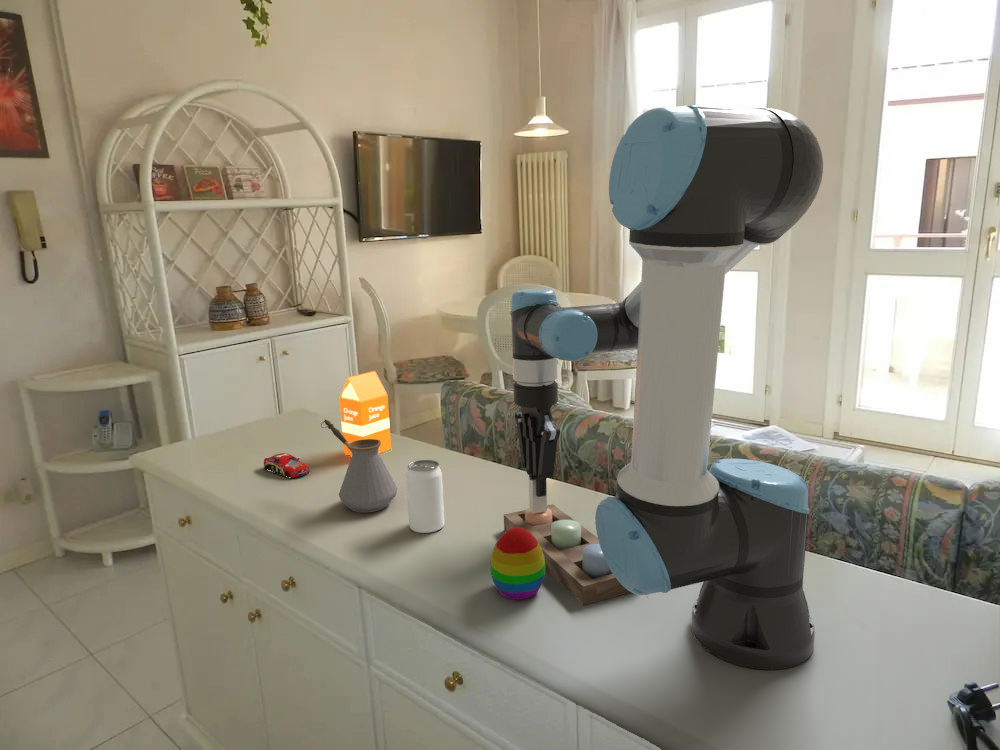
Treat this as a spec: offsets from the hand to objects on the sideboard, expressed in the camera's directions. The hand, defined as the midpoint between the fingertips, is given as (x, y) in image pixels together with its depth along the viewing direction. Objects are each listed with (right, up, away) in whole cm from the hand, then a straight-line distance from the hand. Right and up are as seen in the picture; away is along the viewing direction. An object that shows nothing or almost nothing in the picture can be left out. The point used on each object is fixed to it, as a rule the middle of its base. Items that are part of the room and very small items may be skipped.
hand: (538, 510), depth 121 cm
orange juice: (-39, +5, +48) cm, 62 cm away
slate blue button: (+8, -6, -17) cm, 20 cm away
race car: (-56, +1, +37) cm, 67 cm away
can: (-20, -4, +5) cm, 21 cm away
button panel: (+4, -6, -8) cm, 11 cm away
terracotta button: (0, -4, +1) cm, 4 cm away
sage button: (+4, -4, -9) cm, 10 cm away
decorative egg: (-4, -9, -18) cm, 20 cm away
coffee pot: (-36, -2, +20) cm, 41 cm away
